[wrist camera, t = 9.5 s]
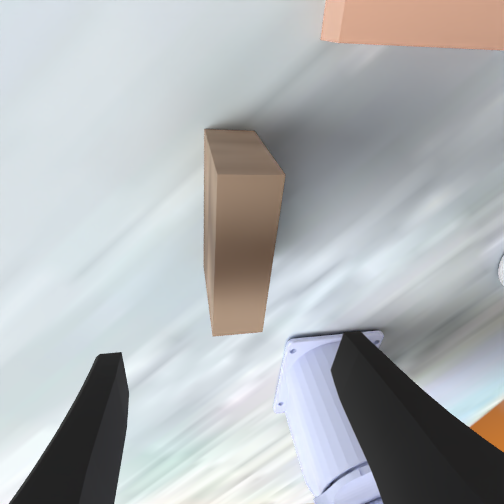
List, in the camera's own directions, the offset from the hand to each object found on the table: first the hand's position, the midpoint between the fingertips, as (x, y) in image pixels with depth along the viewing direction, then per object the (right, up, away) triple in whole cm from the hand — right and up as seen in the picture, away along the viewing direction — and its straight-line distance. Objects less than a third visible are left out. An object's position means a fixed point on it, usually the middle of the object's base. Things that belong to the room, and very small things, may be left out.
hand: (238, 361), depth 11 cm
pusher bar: (-1, +6, +7) cm, 10 cm away
